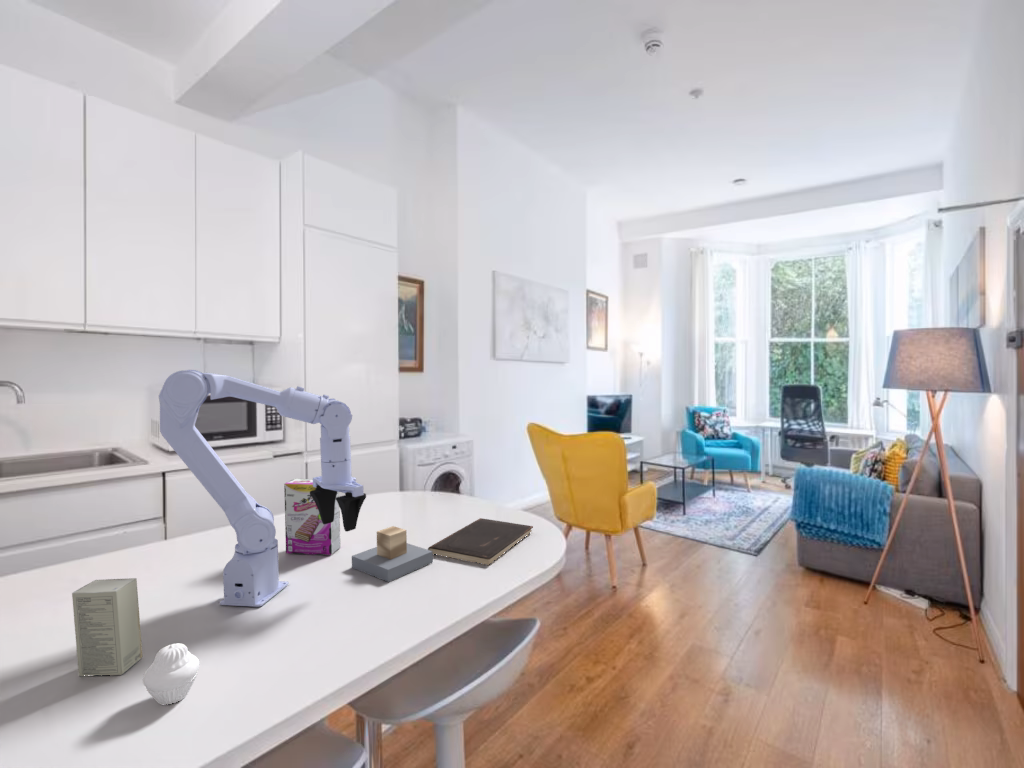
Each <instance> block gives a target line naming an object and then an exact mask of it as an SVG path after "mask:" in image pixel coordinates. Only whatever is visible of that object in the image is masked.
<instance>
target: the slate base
mask: <svg viewBox="0 0 1024 768" xmlns="http://www.w3.org/2000/svg"><path fill="white" fill-rule="evenodd" d="M433 560H434V557H433V551H430V550H428V548H427V549H426V548H424V547H421V546H417V545H413V544H411V543H408V542H407V553H406V554H403V555H401V556H398V557H395V558H393V559H388V558H385V557H382V556H379V555H377V546H375V547H373V548H370V549H367V550H364V551H362V552H359V553H356V554H353V555H351V568H353V569H354V570H356V571H360V572H363V573H364V572H365V574H367V575H369V574H370V576H371V577H374V576H375V577H374V578H378V579H379V578H380V579H379V580H383V581H384V580H385V582H388V583H390V582H392V581H395V580H396V578H397V579H399V578H401V577H404V576H405V574H406V575H408V574H410V573H413V572H415V571H417V570H420V569H422V568H424V567H426V566H428V565H427V564H429V565H430V563H431V564H433V563H434V561H433ZM432 562H433V563H432ZM425 565H426V566H425ZM423 566H424V567H423ZM421 567H422V568H421ZM414 570H415V571H414ZM412 571H413V572H412ZM407 573H408V574H407ZM403 575H404V576H403ZM394 579H395V580H394Z"/></svg>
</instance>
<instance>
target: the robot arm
mask: <svg viewBox="0 0 1024 768" xmlns="http://www.w3.org/2000/svg"><path fill="white" fill-rule="evenodd" d="M209 395H210V397H209V398H210V401H212V400H217V399H223V398H228V397H232V398H236V399H240V400H243V401H248V402H252V403H257V404H261V405H264V406H265V405H266V406H269V407H274V408H276V411H277V412H278V414H279V416H281V417H285V418H288V419H292V420H296V421H299V422H300V421H301V422H304V423H306V424H307V423H308V424H311V425H317V424H318V423H319V424H320V438H319V444H320V445H319V446H320V447H319V448H320V449H319V450H320V468H321V469H320V470H321V471H320V472H321V475H319V476H316V477H312V479H313V487H316V490H313V491H310V495H311V497H312V498H313V500H314V501H315V503H316V505H317V508H318V510H319V514H320V517H321V520H322V523H323V524H328V523H331V522H333V521H334V510H335V500H337V502H338V504H339V507H340V512H341V513H340V514H341V518H342V525H343V529H344V530H343V531H345V532H347V533H348V532H350V531H354V530H356V528H357V523H358V518H359V515H360V512H361V509H362V506H363V504H364V502H365V500H366V499H367V493H364V484H361V483H358V482H357V478H356V477H353V476H352V471H353V470H352V451H351V449H352V448H351V447H352V445H351V436H350V424H351V422H352V421H353V414H352V412H351V409H350V408H349V406H348V405H347V404H346V403H344V402H342V401H339V400H337V399H336V398H330V396H329V395H327V394H323V395H320V394H316V393H313V392H308V391H305V387H302V386H299V385H297V386H296V388H295V387H292V386H291V387H287V388H286V389H283V390H281V391H279V390H276V389H273V388H270V387H267V386H264V385H260V384H257V383H253V382H251V381H248V380H243V379H240V378H238V377H234V376H231V375H226V374H220V373H214V372H213V373H212V372H201V371H200V370H197V369H185V370H178V371H174V372H173V373H172V374H170V375H169V376H168V377H167V378H166V379H165V380H164V382H163V385H162V387H161V390H160V392H159V394H158V400H159V401H158V402H159V432H160V434H161V436H162V437H163V439H165V441H166V443H168V445H169V446H170V447H171V448H172V449H173V451H174V452H175V453H176V454H177V456H178V457H179V458H180V459H181V461H182V462H183V463H184V465H186V467H187V468H188V470H190V473H192V474H193V475H194V476H195V478H196V479H197V480H198V481H199V482H200V484H201V485H202V486H203V487H204V489H205V490H206V492H208V494H209V495H210V496H211V498H212V499H213V500H214V501H215V502H216V504H217V506H219V507H220V509H221V510H222V511H223V512H224V515H225V517H226V518H227V521H228V523H229V524H230V526H231V527H232V528H233V529H234V532H235V535H236V541H237V543H236V544H235V545H234V553H233V556H232V558H231V559H230V560H229V561H227V563H226V564H225V566H224V568H223V573H222V576H223V578H222V579H223V599H222V600H221V601H219V605H220V606H234V607H235V606H237V607H255V608H256V607H258V608H259V607H262V606H263V605H265V604H266V603H267V602H268V601H270V600H271V599H272V598H273V597H274V596H276V595H277V594H279V592H281V591H282V590H283V589H285V588H286V587H287V586H289V584H290V583H289V581H285V580H284V581H282V580H280V575H279V544H278V543H279V542H278V540H279V539H277V538H276V534H277V532H276V530H277V529H276V527H275V522H274V521H275V518H274V514H273V512H272V511H271V510H270V509H269V508H268V507H266V506H265V505H262V504H260V503H258V501H256V499H255V498H254V497H253V496H252V495H251V494H250V493H248V492H247V491H246V489H245V488H244V487H243V485H242V484H241V483H240V482H239V480H238V479H237V478H236V476H235V475H234V473H232V472H231V470H230V469H229V467H228V466H227V465H226V464H225V463H224V461H223V460H222V459H221V458H220V456H219V455H218V454H217V452H216V451H215V450H214V449H213V447H212V446H211V445H210V443H209V442H208V441H207V439H206V438H205V437H204V436H203V435H202V433H201V432H200V430H199V429H198V428H197V427H196V423H197V418H198V416H199V412H200V408H201V406H202V404H204V402H205V401H206V400H207V399H208V396H209ZM337 492H339V493H341V494H344V495H339V497H336V495H337Z"/></svg>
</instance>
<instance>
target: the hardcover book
mask: <svg viewBox="0 0 1024 768" xmlns="http://www.w3.org/2000/svg"><path fill="white" fill-rule="evenodd" d="M533 528H534V526H533V525H527V524H520V523H514V522H508V521H503V520H502V521H500V520H494V519H488V518H480V517H479V518H477V519H476V520H475V521H473V522H471V523H469V524H467V525H466V526H464V527H462V528H461V529H458V530H457V531H454V532H453V533H451V534H449V535H448V536H445V538H443V539H440V540H439V541H437V542H435V543H434V544H432V545H431V546H429V547H428V548H427V550H430V551H433V554H437V555H436V556H438V555H442V556H441V557H443V556H447V557H446V558H448V557H452V558H451V559H453V558H457V559H456V560H459V559H462V560H461V561H464V560H466V561H465V562H469V561H470V562H471V563H474V562H477V563H476V564H479V563H482V564H481V565H484V564H487V565H486V566H490V565H491V564H493V563H494V562H495V561H496V560H498V559H499V558H500V557H502V556H503V555H504V554H505V553H504V552H506V551H507V550H508V549H510V548H511V547H512V546H513V545H515V544H516V543H517V542H518V541H520V540H521V539H523V538H524V537H525V536H526V535H528V534H529V533H530V532H531V533H532V531H533V530H532V529H533ZM529 535H530V534H529ZM529 535H528V536H529ZM525 538H526V537H525ZM525 538H524V539H525ZM524 539H523V540H524ZM521 541H522V540H521ZM521 541H520V542H521ZM517 544H518V543H517ZM517 544H516V545H517ZM516 545H515V546H516ZM513 547H514V546H513ZM513 547H512V548H513ZM512 548H511V549H512ZM508 551H509V550H508ZM508 551H507V552H508ZM507 552H506V553H507ZM503 553H504V554H503ZM502 554H503V555H502ZM501 555H502V556H501ZM499 556H500V557H499ZM498 557H499V558H498ZM497 558H498V559H497ZM495 559H496V560H495ZM494 560H495V561H494ZM493 561H494V562H493ZM490 563H491V564H490ZM489 564H490V565H489Z"/></svg>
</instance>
